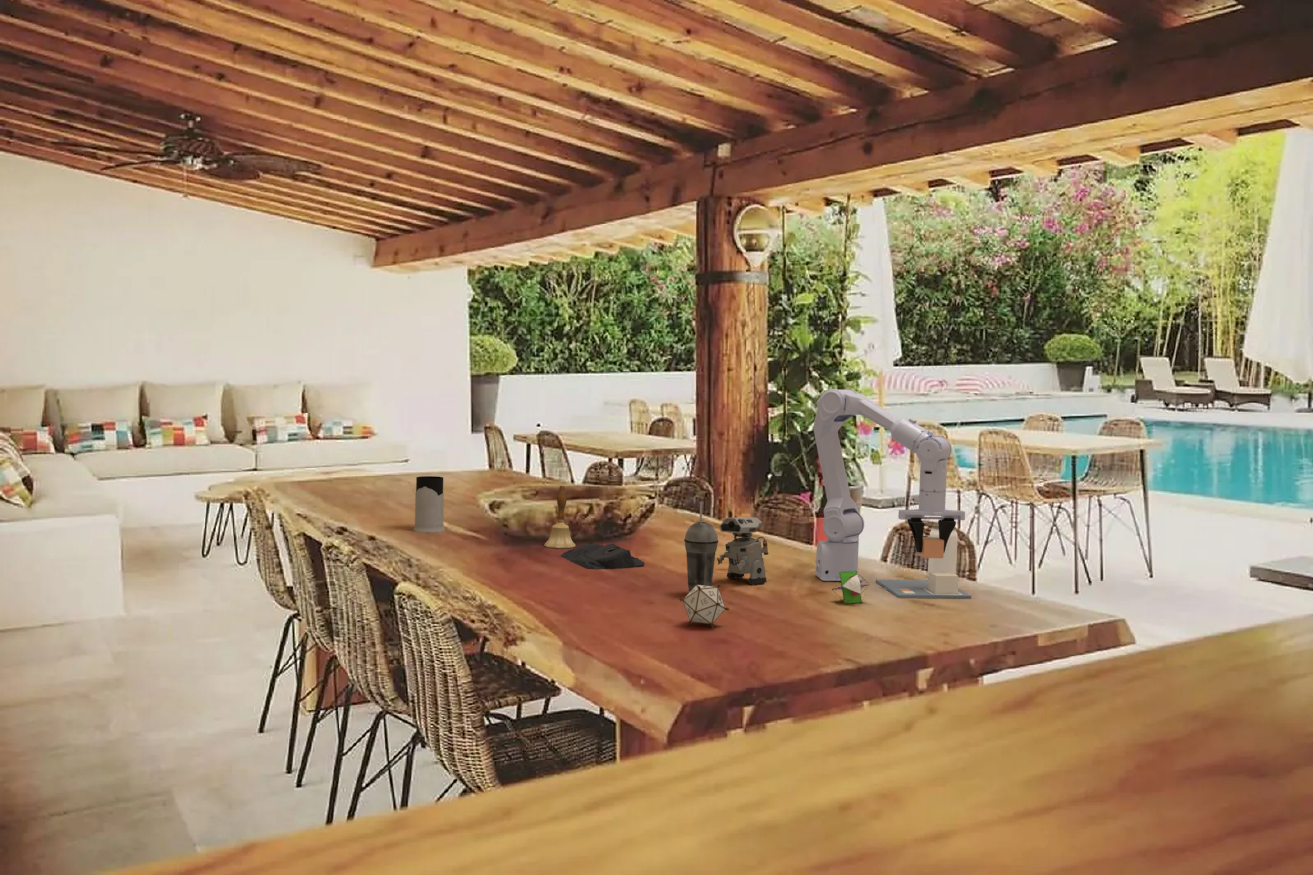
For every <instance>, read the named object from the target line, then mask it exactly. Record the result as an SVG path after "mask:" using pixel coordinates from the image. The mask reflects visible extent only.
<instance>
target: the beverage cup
mask: <svg viewBox="0 0 1313 875" xmlns="http://www.w3.org/2000/svg"><path fill="white" fill-rule="evenodd" d="M718 543H719V538H718V533H717V530H716V529H715V527H714V526H713V525H712V524H710V523H709V522H707V521H703V501H699V521H696V522H694V523H692V524H691V525H690V526H689V527H688V528H687V530H686V532H685V537H684V547H685V551H686V569H687V587H688V593H689V592H690V591H691V590H692V589H693V588H694V587H695V586H696V585H695V581H696V582H697V584H698V585H706V586H713V578H714V570H715V560H716V552H717V549H718Z"/></svg>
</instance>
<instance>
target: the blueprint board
mask: <svg viewBox="0 0 1313 875" xmlns="http://www.w3.org/2000/svg"><path fill="white" fill-rule="evenodd" d="M875 583H876V584H877V585H879V586H880V587H883V589H885V590H886V591H888V592H890V593H891V594H893V595H894V596H896V597H897V598H899V599H903V598H904V599H969V600H970V599H971V600H972V595H971V594H969V593H968V592H966V591H964V590H961V589H960V588H958V594H934V593H933V592H931V591H929V590H928V579H926V580H925V579H876V580H875Z"/></svg>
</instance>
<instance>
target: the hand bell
mask: <svg viewBox="0 0 1313 875" xmlns="http://www.w3.org/2000/svg"><path fill="white" fill-rule="evenodd" d="M558 488H559V489H558V491H557V494H556V504H557V509H558V513H557V522H556V523H555V524H553V525H552V526H551V531H550V532H551V533H550V536H549V538H548V540H547V541H546V542H545V543H544V545H543V546H544V547H546V548H550V549H551V548H552V549H553V548H554V549H574V548H576V543H574V541H573V540H572V537H571V533H570V528H569V527H570V526H569V525H567V524H566V523H565V509H566V508H565V507H566V504H567V499H568V498H567V497H568V496H567V491H566V486H565V485H560V486H559V487H558Z"/></svg>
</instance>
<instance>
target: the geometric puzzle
mask: <svg viewBox="0 0 1313 875" xmlns="http://www.w3.org/2000/svg"><path fill="white" fill-rule="evenodd" d="M839 573H840V581H839V582H840V585H841V586H837V587H836V588H835V587H834V588H831V591H833V593H835V595H838V593H837V592H835V591H834V590H841V591H842V597H843V598H842V597H841V596H840V599H842V600H843V602H844V605H845V604H858V603H859V604H860V603H861V604H863V600H864V599H862V591H861V590H862V588H864V587H865V589H868V588H869V587H870V585H871V584H870V583H869V582H868V581H867V580H865V582H866V583H867V584H861V581H860V580H859V577H860V576H859V573H858V572H857V570H856V571H844V572H840V571H839ZM858 576H859V577H858ZM861 579H863V580H864V577H861ZM866 593H867V592H865V593H864V595H866Z"/></svg>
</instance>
